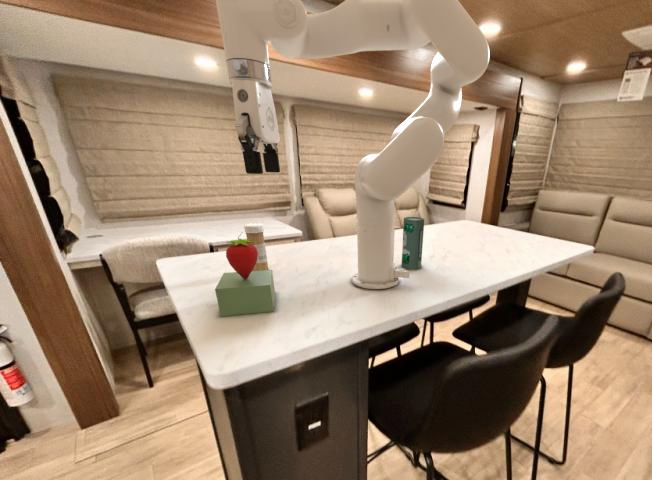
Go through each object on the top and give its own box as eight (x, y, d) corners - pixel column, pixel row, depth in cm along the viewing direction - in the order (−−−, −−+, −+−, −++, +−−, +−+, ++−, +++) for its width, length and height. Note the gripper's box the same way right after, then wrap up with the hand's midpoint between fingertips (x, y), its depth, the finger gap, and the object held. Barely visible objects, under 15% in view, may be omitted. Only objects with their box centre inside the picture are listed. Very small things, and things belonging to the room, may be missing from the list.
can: (402, 263, 101) (404, 216, 95) (421, 264, 101) (424, 217, 95) (400, 268, 96) (403, 219, 90) (420, 270, 95) (424, 220, 89)
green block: (275, 293, 74) (272, 269, 72) (273, 311, 65) (270, 285, 63) (228, 297, 71) (223, 272, 69) (220, 316, 62) (214, 289, 60)
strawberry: (263, 272, 70) (256, 227, 66) (259, 283, 63) (252, 235, 59) (234, 273, 68) (225, 228, 64) (227, 285, 62) (217, 235, 58)
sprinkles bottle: (266, 268, 90) (259, 222, 85) (271, 273, 87) (265, 225, 82) (249, 271, 88) (241, 223, 82) (254, 276, 84) (246, 226, 79)
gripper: (250, 64, 51) (266, 174, 58) (284, 87, 67) (294, 172, 74) (204, 62, 51) (226, 174, 58) (250, 86, 67) (262, 171, 74)
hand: (264, 172), depth 66 cm, fingers open, 9 cm apart
